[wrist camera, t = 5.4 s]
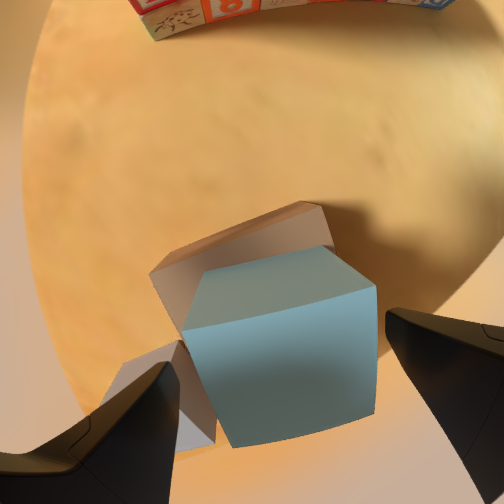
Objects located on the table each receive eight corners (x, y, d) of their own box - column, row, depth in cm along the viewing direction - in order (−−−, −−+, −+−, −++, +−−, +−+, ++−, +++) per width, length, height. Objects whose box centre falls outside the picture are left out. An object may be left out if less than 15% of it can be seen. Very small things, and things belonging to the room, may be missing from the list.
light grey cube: (178, 339, 15) (161, 389, 11) (218, 391, 16) (215, 443, 12) (123, 362, 15) (98, 408, 11) (164, 409, 16) (151, 456, 12)
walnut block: (298, 200, 14) (321, 206, 10) (336, 316, 15) (362, 352, 12) (171, 251, 14) (148, 274, 10) (224, 357, 16) (221, 403, 12)
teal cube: (321, 245, 10) (375, 285, 6) (334, 344, 11) (373, 413, 7) (203, 271, 10) (181, 330, 6) (233, 368, 11) (232, 448, 7)
